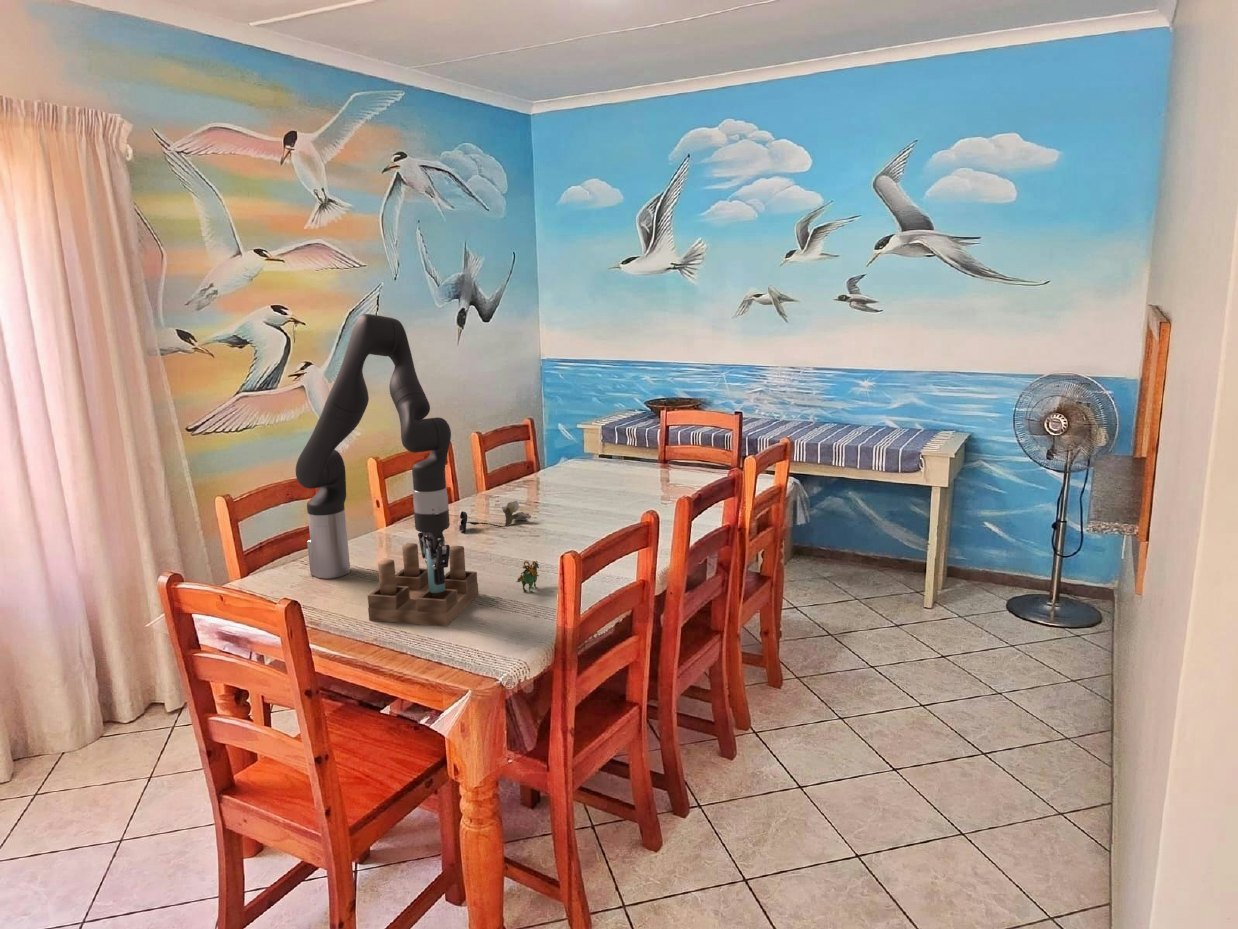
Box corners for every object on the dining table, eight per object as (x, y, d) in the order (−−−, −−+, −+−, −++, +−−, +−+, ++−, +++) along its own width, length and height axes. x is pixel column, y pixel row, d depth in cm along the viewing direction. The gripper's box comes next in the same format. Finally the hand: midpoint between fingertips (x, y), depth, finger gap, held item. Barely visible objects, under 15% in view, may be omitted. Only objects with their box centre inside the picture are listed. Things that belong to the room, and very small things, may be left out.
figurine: (544, 584, 207) (543, 553, 205) (523, 601, 196) (521, 569, 194) (533, 582, 208) (532, 552, 206) (511, 599, 197) (510, 567, 195)
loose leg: (432, 594, 182) (429, 551, 180) (426, 589, 185) (423, 547, 183) (447, 590, 184) (444, 548, 182) (441, 585, 187) (439, 544, 185)
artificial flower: (456, 532, 256) (456, 500, 257) (526, 532, 264) (526, 501, 265) (461, 532, 248) (461, 499, 248) (533, 532, 256) (533, 500, 256)
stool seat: (369, 620, 186) (364, 566, 183) (407, 590, 204) (403, 540, 201) (446, 626, 182) (443, 571, 179) (478, 594, 200) (475, 544, 198)
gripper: (404, 503, 184) (409, 575, 188) (426, 518, 173) (431, 594, 177) (435, 498, 188) (440, 569, 192) (459, 512, 177) (464, 587, 181)
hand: (436, 581), depth 184 cm, fingers closed on loose leg, 3 cm apart
